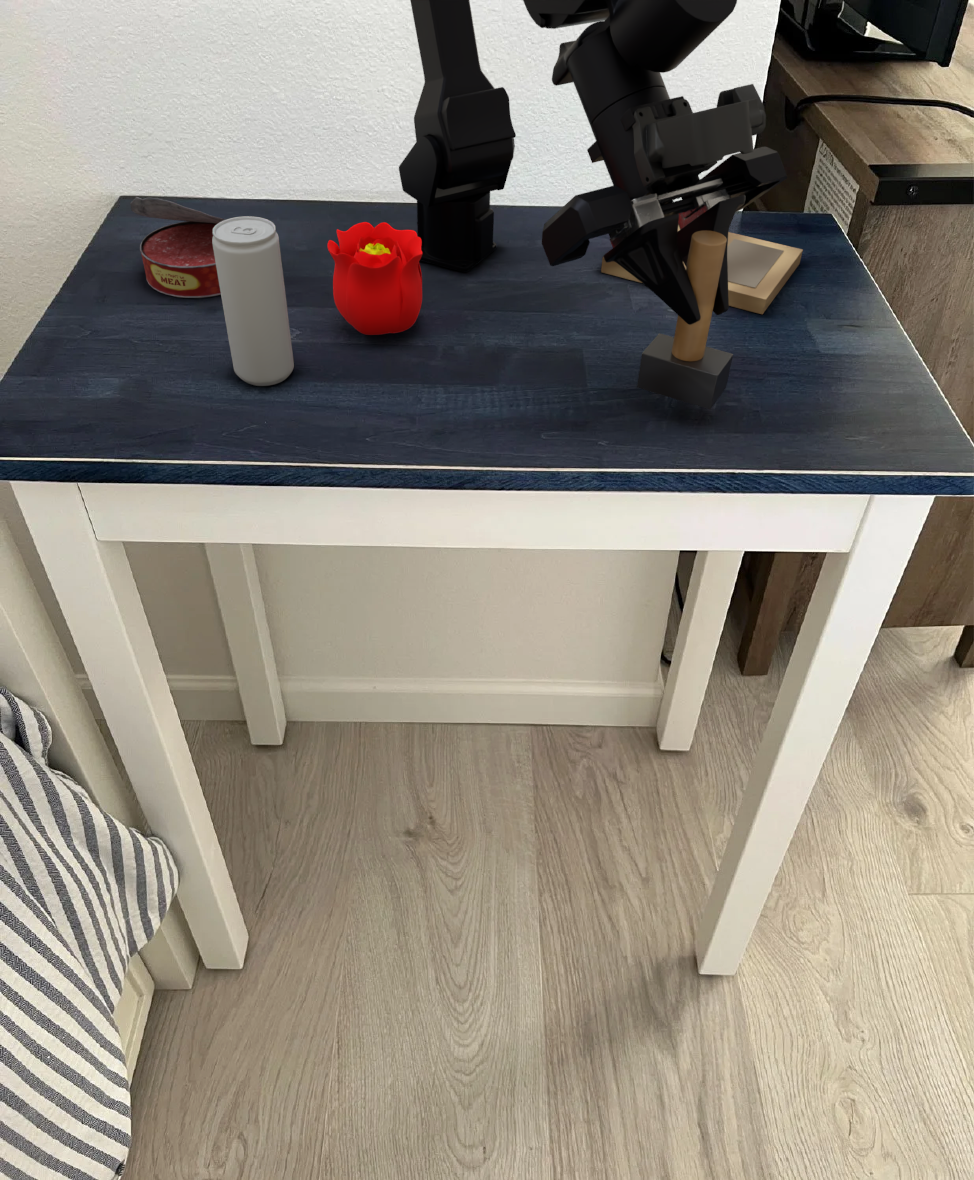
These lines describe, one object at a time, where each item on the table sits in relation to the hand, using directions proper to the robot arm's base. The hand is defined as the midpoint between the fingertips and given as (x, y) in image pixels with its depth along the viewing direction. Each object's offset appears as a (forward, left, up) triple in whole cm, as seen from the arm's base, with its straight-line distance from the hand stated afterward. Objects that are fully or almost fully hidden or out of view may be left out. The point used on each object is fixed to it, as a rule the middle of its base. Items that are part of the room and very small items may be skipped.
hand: (708, 317), depth 72 cm
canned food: (-48, 0, -9) cm, 49 cm away
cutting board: (-8, +26, -9) cm, 28 cm away
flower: (-28, 0, -9) cm, 30 cm away
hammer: (-1, +1, -7) cm, 7 cm away
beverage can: (-32, -11, -9) cm, 35 cm away
